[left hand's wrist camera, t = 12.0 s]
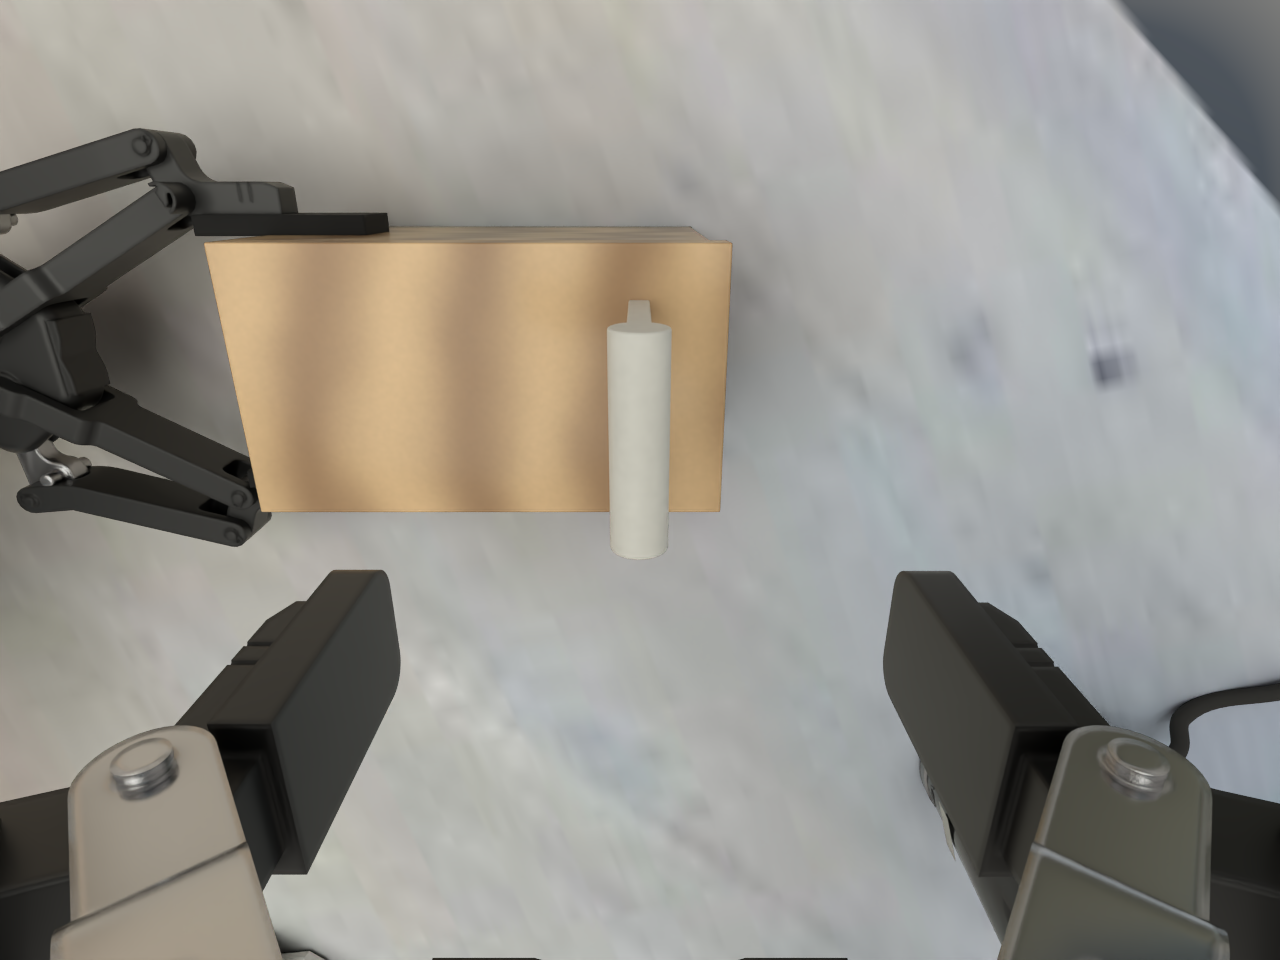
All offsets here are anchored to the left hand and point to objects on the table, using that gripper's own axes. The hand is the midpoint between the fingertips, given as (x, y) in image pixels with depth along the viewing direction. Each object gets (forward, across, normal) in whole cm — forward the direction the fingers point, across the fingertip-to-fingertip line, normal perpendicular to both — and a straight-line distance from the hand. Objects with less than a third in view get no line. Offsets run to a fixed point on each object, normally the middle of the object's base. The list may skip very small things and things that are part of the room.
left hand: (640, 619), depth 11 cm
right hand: (+20, +10, 0) cm, 23 cm away
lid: (+16, +6, 0) cm, 17 cm away
